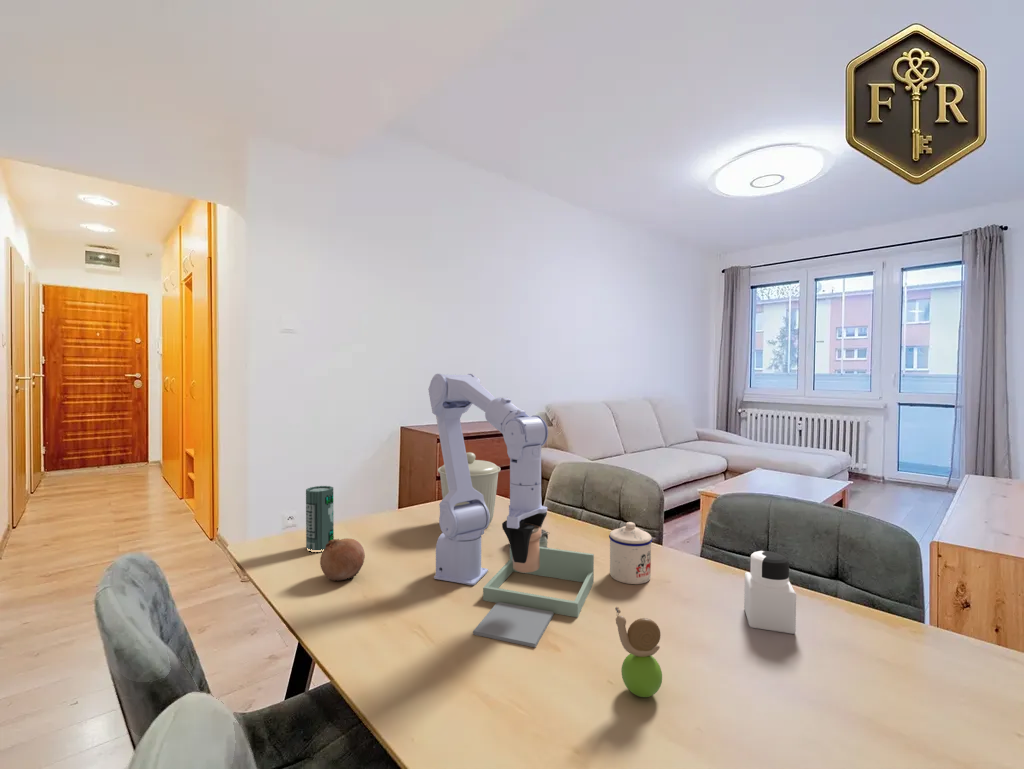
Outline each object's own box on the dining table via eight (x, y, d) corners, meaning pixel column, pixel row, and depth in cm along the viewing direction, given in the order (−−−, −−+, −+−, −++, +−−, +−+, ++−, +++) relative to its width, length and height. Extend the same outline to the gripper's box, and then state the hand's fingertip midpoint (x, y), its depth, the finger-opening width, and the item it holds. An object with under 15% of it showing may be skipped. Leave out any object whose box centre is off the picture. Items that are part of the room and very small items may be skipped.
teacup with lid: (643, 589, 98) (644, 532, 97) (602, 578, 103) (602, 524, 102) (661, 569, 108) (661, 518, 107) (622, 560, 113) (622, 511, 112)
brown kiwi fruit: (325, 595, 101) (302, 557, 99) (349, 567, 109) (329, 532, 108) (357, 586, 98) (334, 547, 96) (380, 559, 106) (359, 522, 104)
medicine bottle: (786, 615, 88) (788, 550, 87) (796, 635, 81) (797, 564, 81) (743, 608, 90) (744, 545, 90) (749, 627, 83) (750, 559, 83)
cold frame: (483, 600, 93) (483, 569, 93) (510, 569, 107) (511, 542, 107) (577, 617, 86) (577, 584, 86) (593, 582, 101) (593, 554, 101)
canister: (510, 520, 143) (510, 450, 143) (482, 539, 127) (482, 460, 126) (458, 512, 151) (458, 446, 150) (425, 530, 134) (425, 455, 134)
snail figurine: (609, 681, 68) (610, 598, 68) (653, 679, 69) (653, 597, 69) (621, 708, 63) (622, 618, 63) (668, 705, 64) (669, 616, 63)
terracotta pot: (506, 571, 87) (505, 533, 86) (516, 557, 92) (515, 521, 92) (536, 575, 85) (536, 536, 84) (545, 561, 90) (545, 525, 90)
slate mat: (473, 634, 81) (473, 630, 81) (497, 604, 91) (497, 601, 91) (535, 647, 77) (535, 643, 77) (553, 615, 87) (553, 611, 87)
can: (337, 547, 120) (337, 488, 120) (314, 554, 116) (313, 493, 115) (325, 542, 124) (325, 484, 124) (302, 548, 120) (302, 488, 119)
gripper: (534, 493, 80) (534, 574, 80) (556, 475, 93) (556, 545, 94) (495, 489, 82) (495, 568, 82) (522, 473, 96) (522, 540, 96)
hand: (525, 555), depth 88 cm, fingers closed on terracotta pot, 6 cm apart
